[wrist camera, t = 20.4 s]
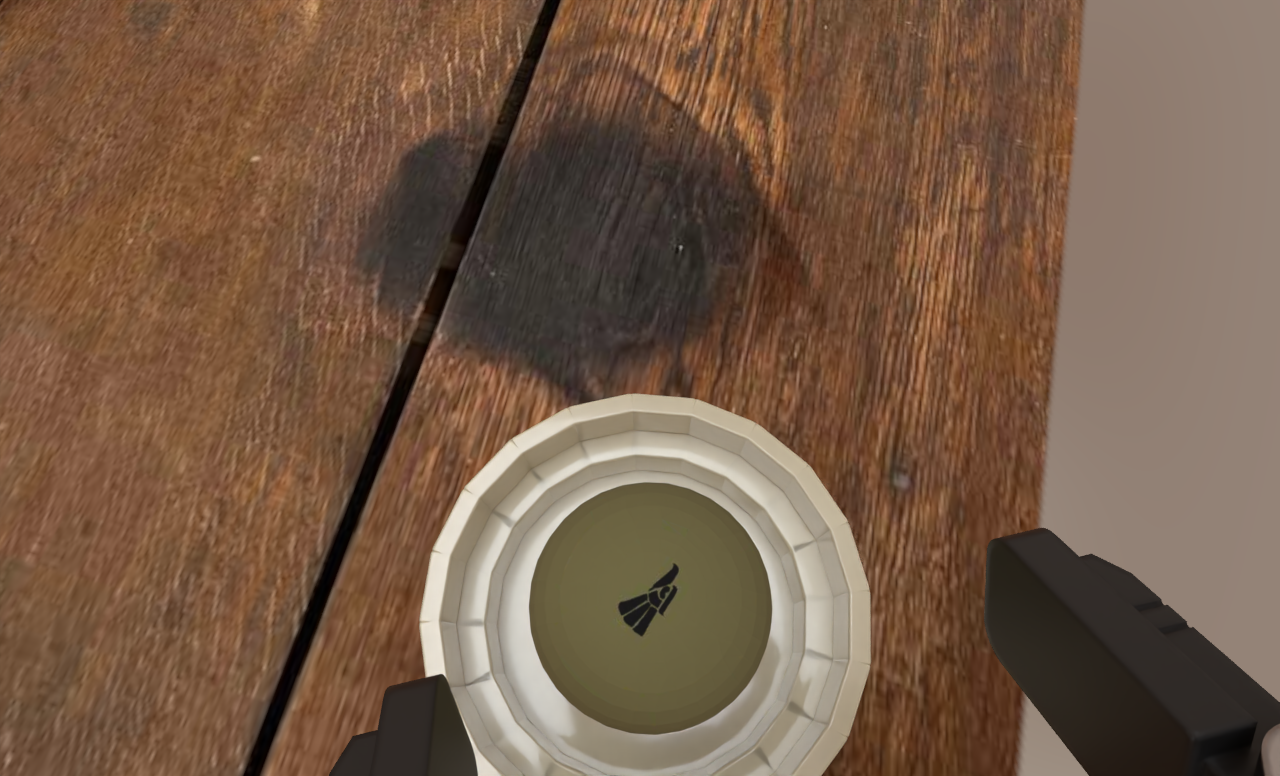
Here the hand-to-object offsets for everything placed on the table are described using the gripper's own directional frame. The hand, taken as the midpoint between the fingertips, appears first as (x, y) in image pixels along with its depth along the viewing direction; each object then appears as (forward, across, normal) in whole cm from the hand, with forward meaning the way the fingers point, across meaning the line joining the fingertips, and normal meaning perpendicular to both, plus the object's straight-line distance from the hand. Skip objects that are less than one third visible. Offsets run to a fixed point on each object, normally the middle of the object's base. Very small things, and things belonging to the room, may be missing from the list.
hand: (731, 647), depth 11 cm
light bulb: (+11, -1, -9) cm, 14 cm away
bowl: (+11, -1, -9) cm, 15 cm away
